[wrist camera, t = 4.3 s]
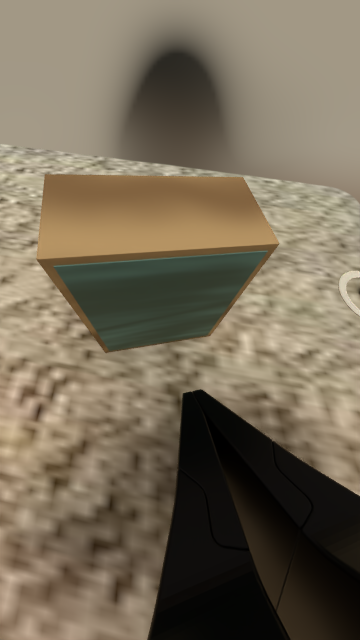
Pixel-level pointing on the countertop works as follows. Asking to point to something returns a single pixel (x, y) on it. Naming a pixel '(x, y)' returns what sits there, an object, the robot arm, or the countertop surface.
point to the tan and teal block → (151, 252)
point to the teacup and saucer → (343, 292)
